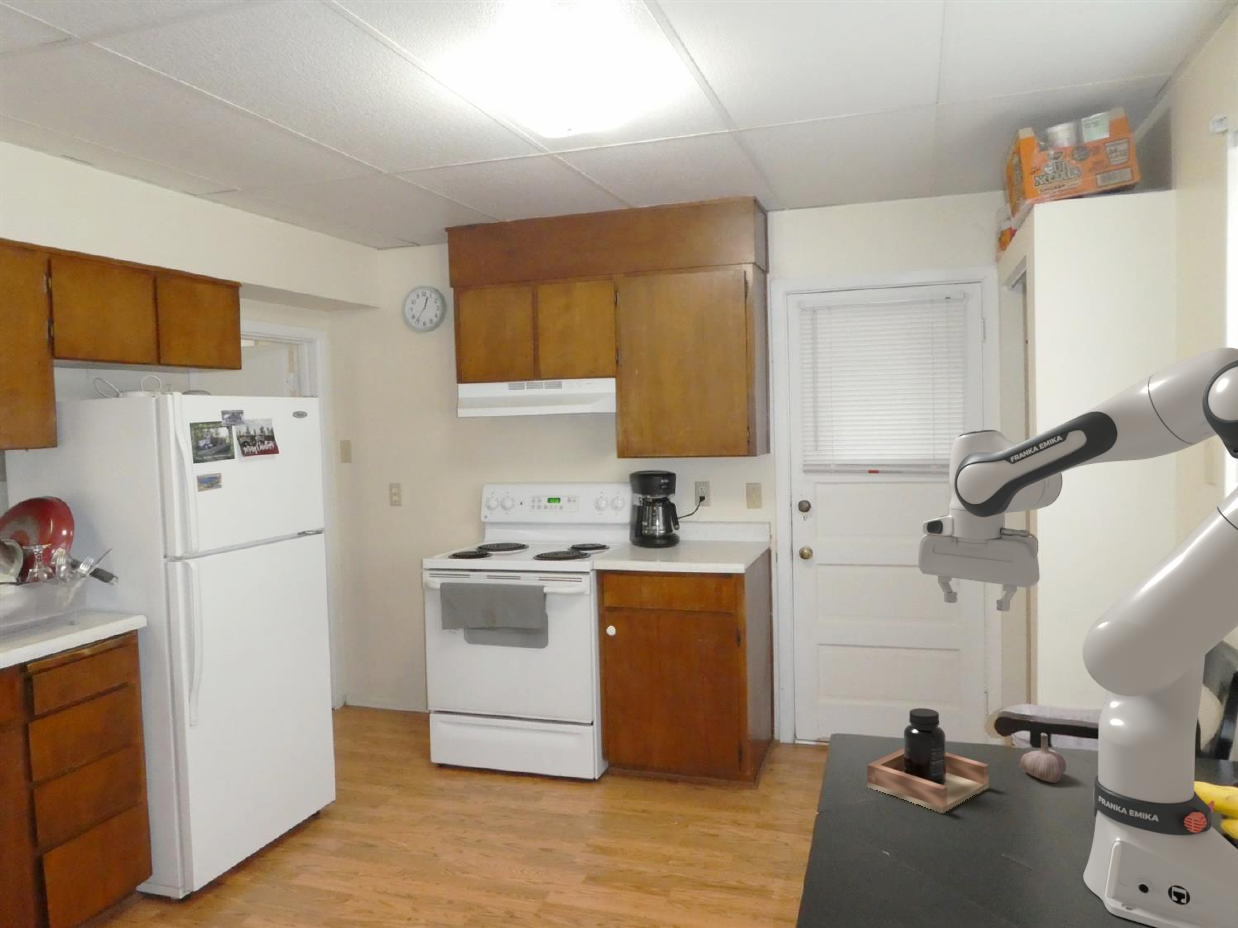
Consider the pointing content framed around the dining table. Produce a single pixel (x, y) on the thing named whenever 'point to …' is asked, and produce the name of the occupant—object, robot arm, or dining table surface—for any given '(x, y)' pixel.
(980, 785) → the open-sided tray
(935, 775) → the supplement bottle
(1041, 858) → the dining table surface
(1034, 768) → the garlic bulb
